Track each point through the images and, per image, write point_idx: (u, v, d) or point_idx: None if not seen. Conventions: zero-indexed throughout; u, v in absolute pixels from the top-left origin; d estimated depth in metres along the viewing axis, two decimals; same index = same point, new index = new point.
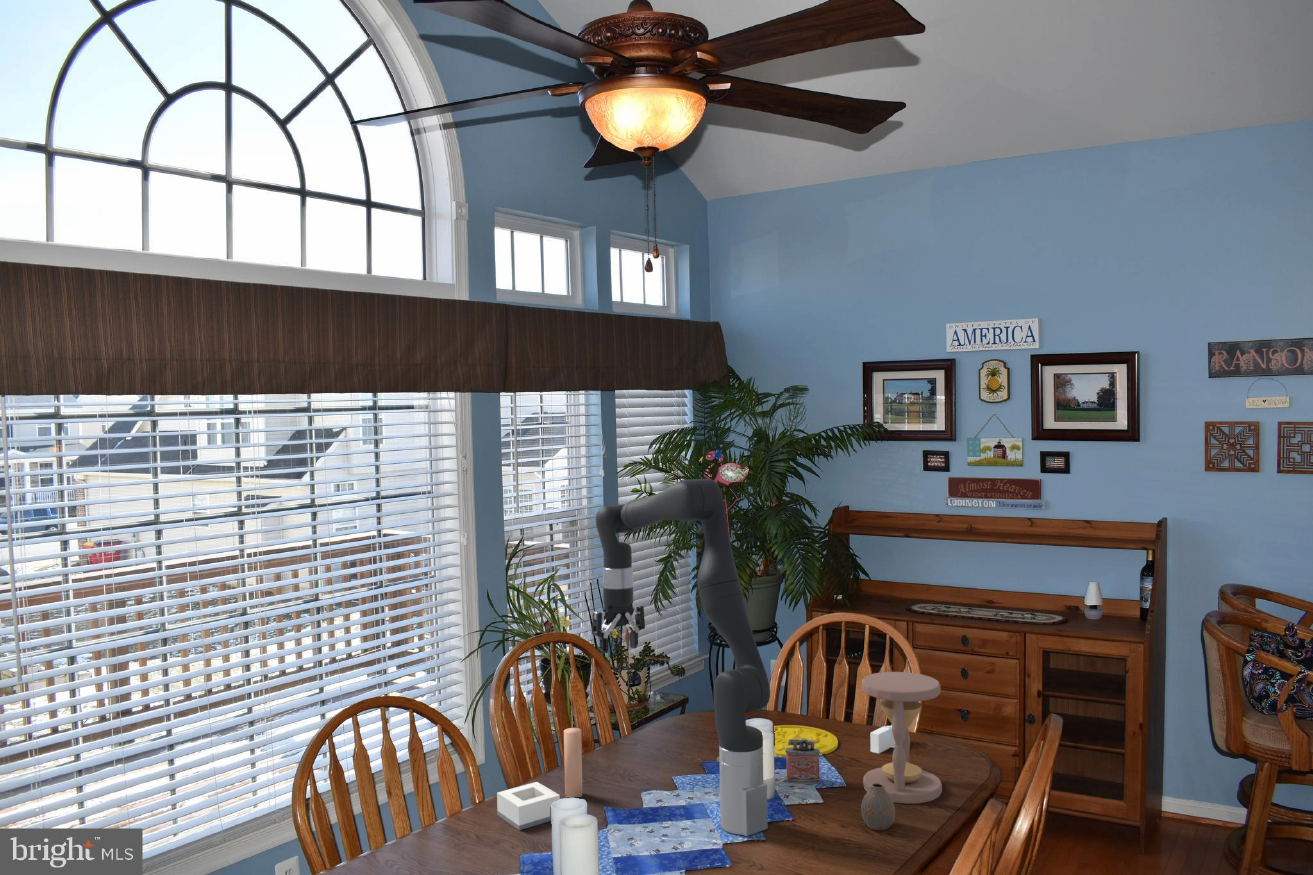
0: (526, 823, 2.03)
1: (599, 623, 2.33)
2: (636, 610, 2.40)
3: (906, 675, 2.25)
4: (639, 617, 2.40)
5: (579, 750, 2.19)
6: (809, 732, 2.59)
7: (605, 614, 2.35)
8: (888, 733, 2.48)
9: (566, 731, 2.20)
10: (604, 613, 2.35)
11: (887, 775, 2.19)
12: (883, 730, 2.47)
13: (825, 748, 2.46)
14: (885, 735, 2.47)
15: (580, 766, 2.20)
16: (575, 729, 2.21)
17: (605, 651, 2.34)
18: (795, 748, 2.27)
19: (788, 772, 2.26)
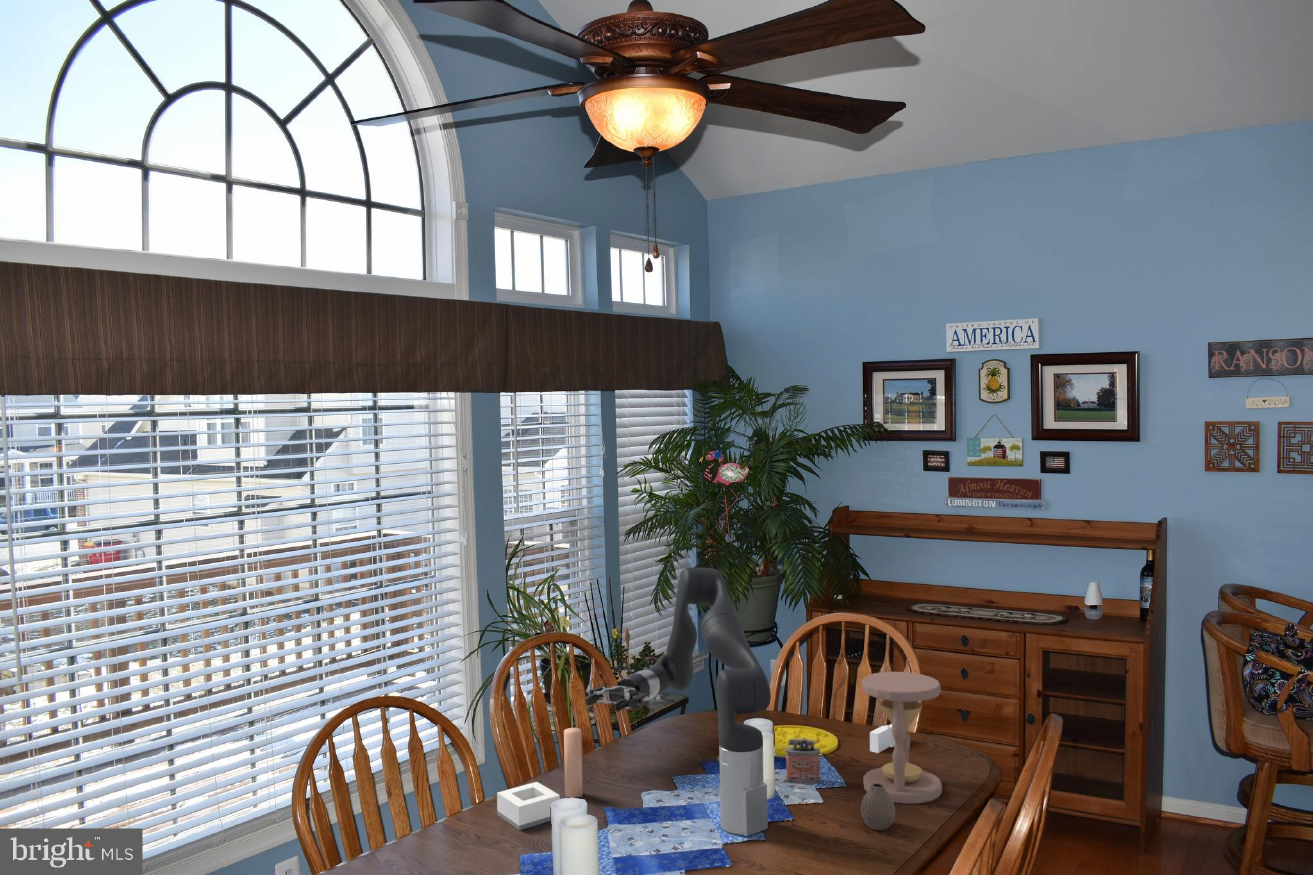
0: (526, 823, 2.03)
1: (598, 687, 2.40)
2: None
3: (906, 675, 2.25)
4: None
5: (579, 750, 2.19)
6: (809, 732, 2.59)
7: None
8: (886, 733, 2.48)
9: (566, 731, 2.20)
10: None
11: (887, 775, 2.19)
12: (882, 730, 2.48)
13: (825, 748, 2.46)
14: (885, 734, 2.48)
15: (580, 766, 2.20)
16: (575, 729, 2.21)
17: None
18: (795, 748, 2.27)
19: (788, 772, 2.26)
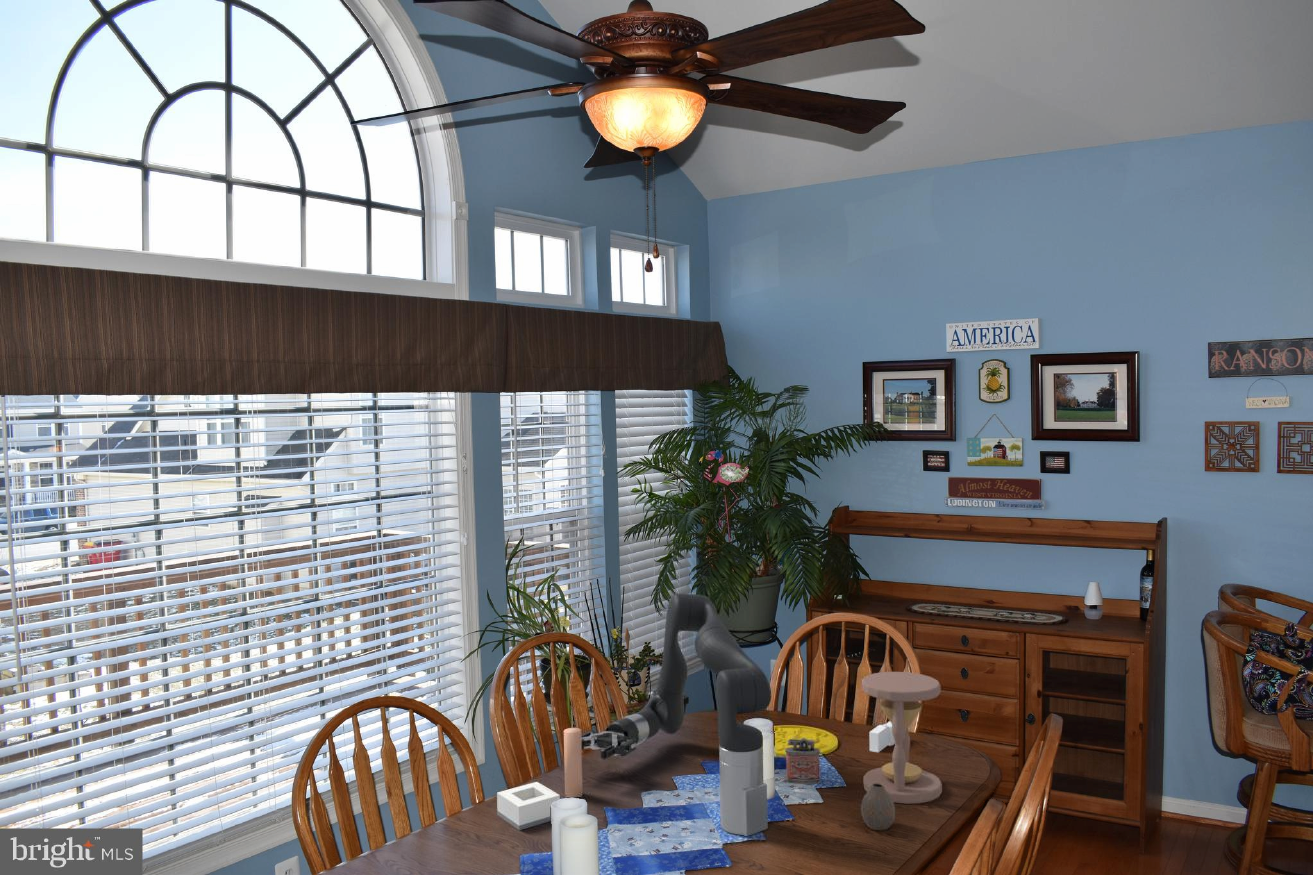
0: (526, 823, 2.03)
1: (586, 733, 2.35)
2: None
3: (906, 675, 2.25)
4: None
5: (579, 750, 2.19)
6: (809, 732, 2.59)
7: None
8: (885, 732, 2.49)
9: (566, 731, 2.20)
10: None
11: (887, 775, 2.19)
12: (880, 729, 2.48)
13: (825, 748, 2.46)
14: (883, 734, 2.48)
15: (580, 766, 2.20)
16: (575, 729, 2.21)
17: None
18: (795, 748, 2.27)
19: (788, 772, 2.26)
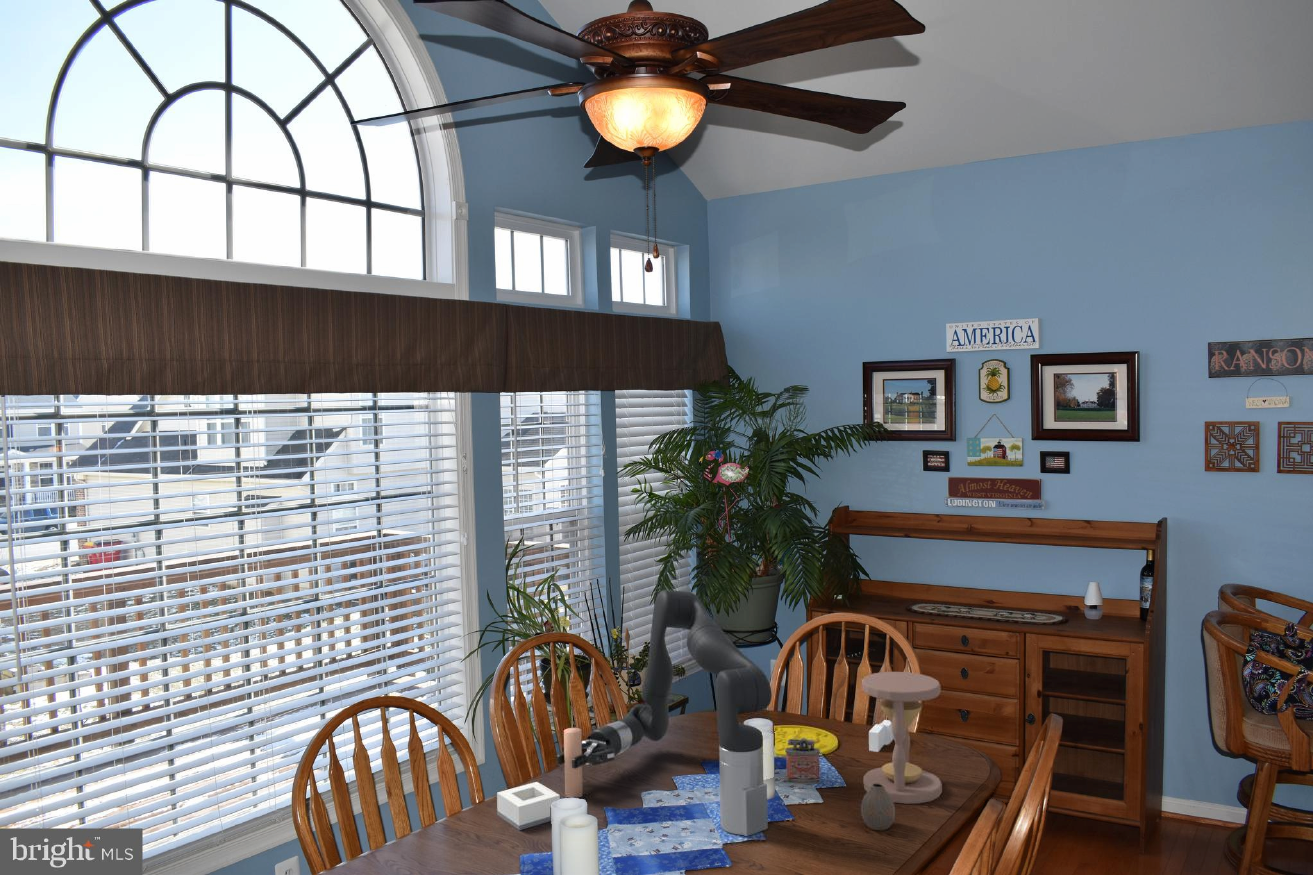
0: (526, 823, 2.03)
1: None
2: None
3: (906, 675, 2.25)
4: None
5: (579, 750, 2.19)
6: (809, 732, 2.59)
7: None
8: (882, 731, 2.50)
9: (566, 731, 2.20)
10: None
11: (887, 775, 2.19)
12: (878, 728, 2.49)
13: (825, 748, 2.46)
14: (881, 733, 2.49)
15: (580, 766, 2.20)
16: (575, 729, 2.21)
17: None
18: (795, 748, 2.27)
19: (788, 772, 2.26)
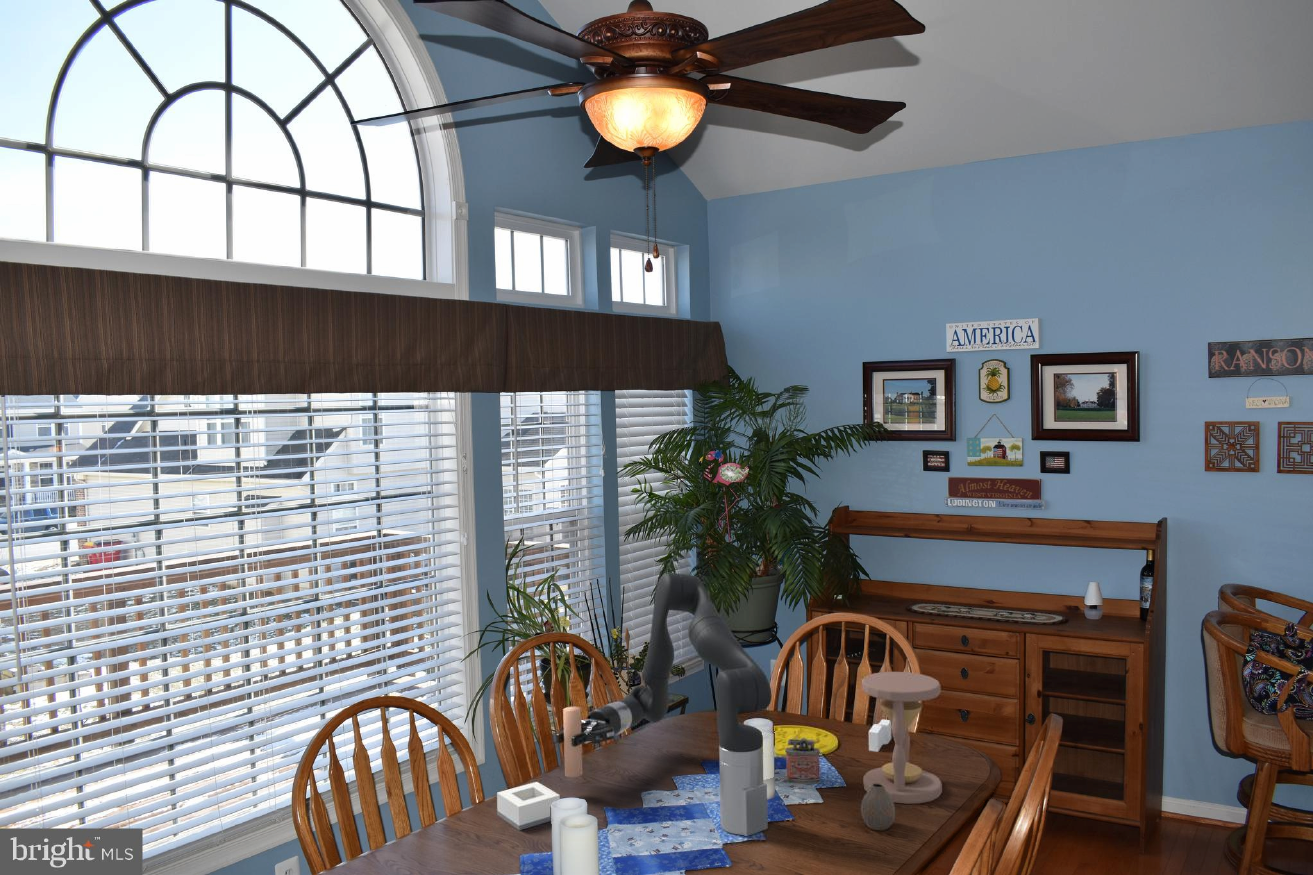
0: (526, 823, 2.03)
1: None
2: None
3: (906, 675, 2.25)
4: None
5: (579, 728, 2.19)
6: (809, 732, 2.59)
7: None
8: (881, 731, 2.50)
9: (565, 710, 2.20)
10: None
11: (887, 775, 2.19)
12: (877, 728, 2.49)
13: (825, 748, 2.46)
14: (880, 732, 2.49)
15: (580, 745, 2.19)
16: (574, 708, 2.21)
17: None
18: (795, 748, 2.27)
19: (788, 772, 2.26)
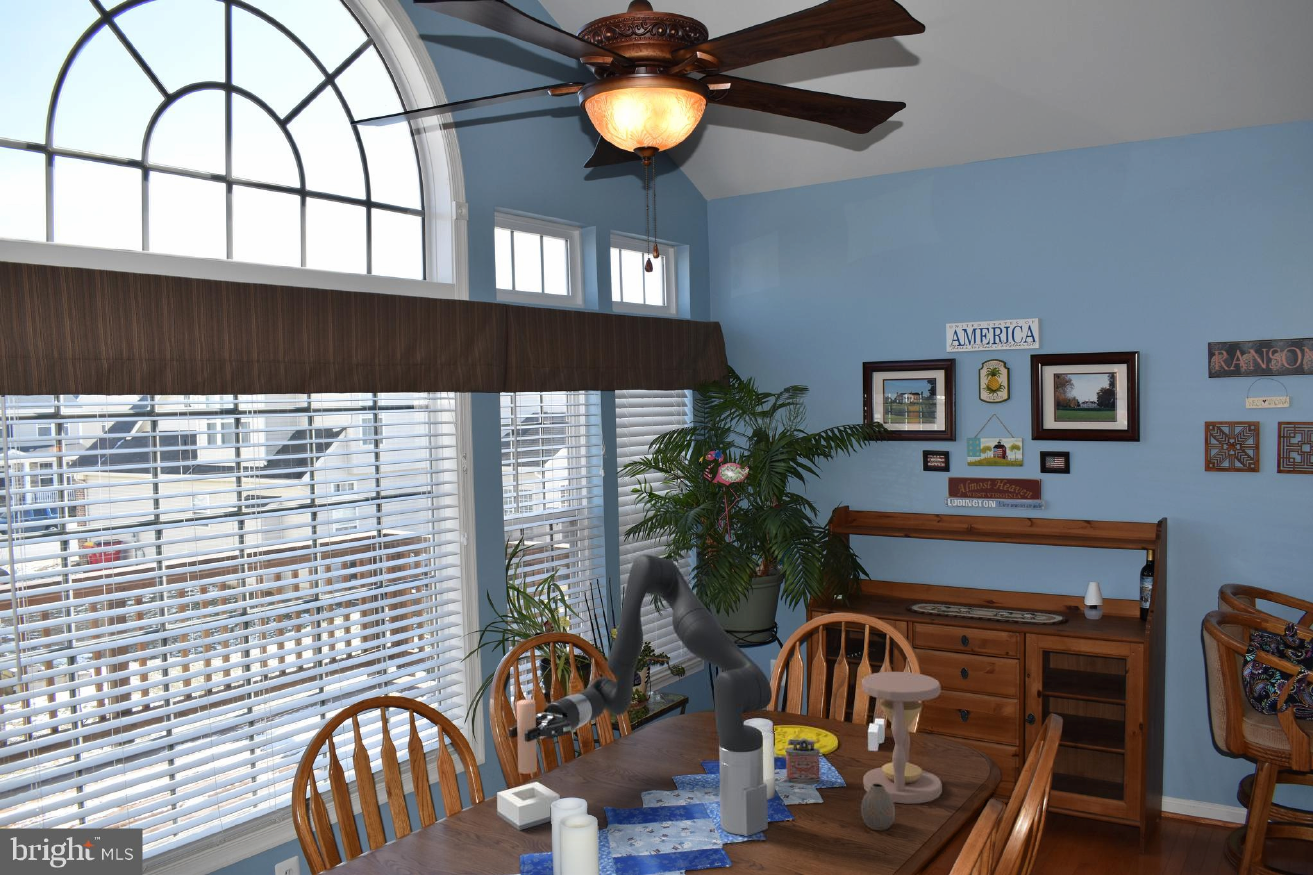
0: (526, 823, 2.03)
1: None
2: None
3: (906, 675, 2.25)
4: None
5: (533, 723, 2.08)
6: (809, 732, 2.59)
7: None
8: (878, 730, 2.51)
9: (519, 703, 2.08)
10: None
11: (887, 775, 2.19)
12: (875, 727, 2.50)
13: (825, 748, 2.46)
14: (878, 732, 2.50)
15: (534, 739, 2.08)
16: (529, 701, 2.10)
17: None
18: (795, 748, 2.27)
19: (788, 772, 2.26)
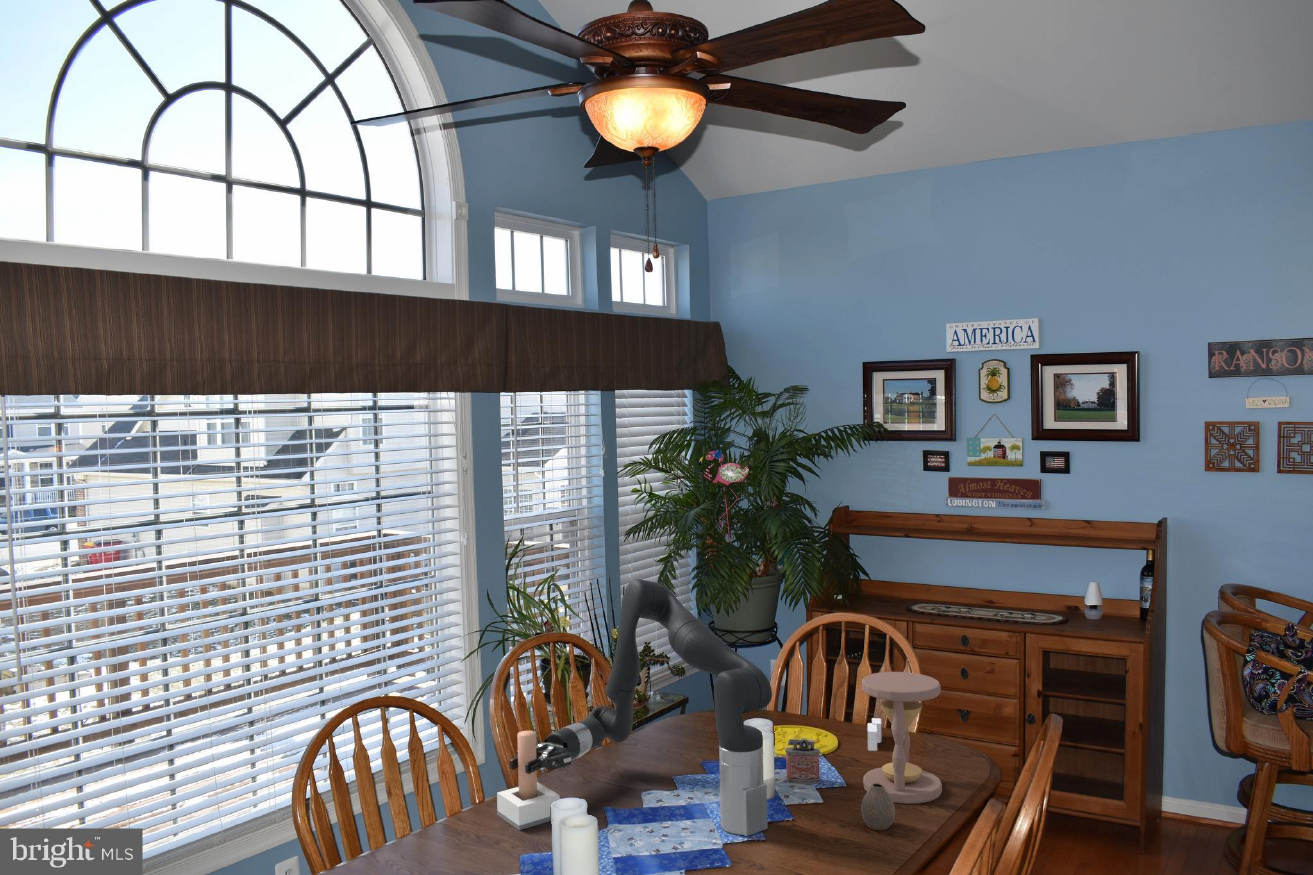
0: (526, 823, 2.03)
1: None
2: None
3: (906, 675, 2.25)
4: None
5: (533, 754, 2.08)
6: (809, 732, 2.59)
7: None
8: None
9: (520, 734, 2.08)
10: None
11: (887, 775, 2.19)
12: (874, 727, 2.50)
13: (825, 748, 2.46)
14: None
15: (534, 771, 2.08)
16: (529, 732, 2.10)
17: None
18: (795, 748, 2.27)
19: (788, 772, 2.26)
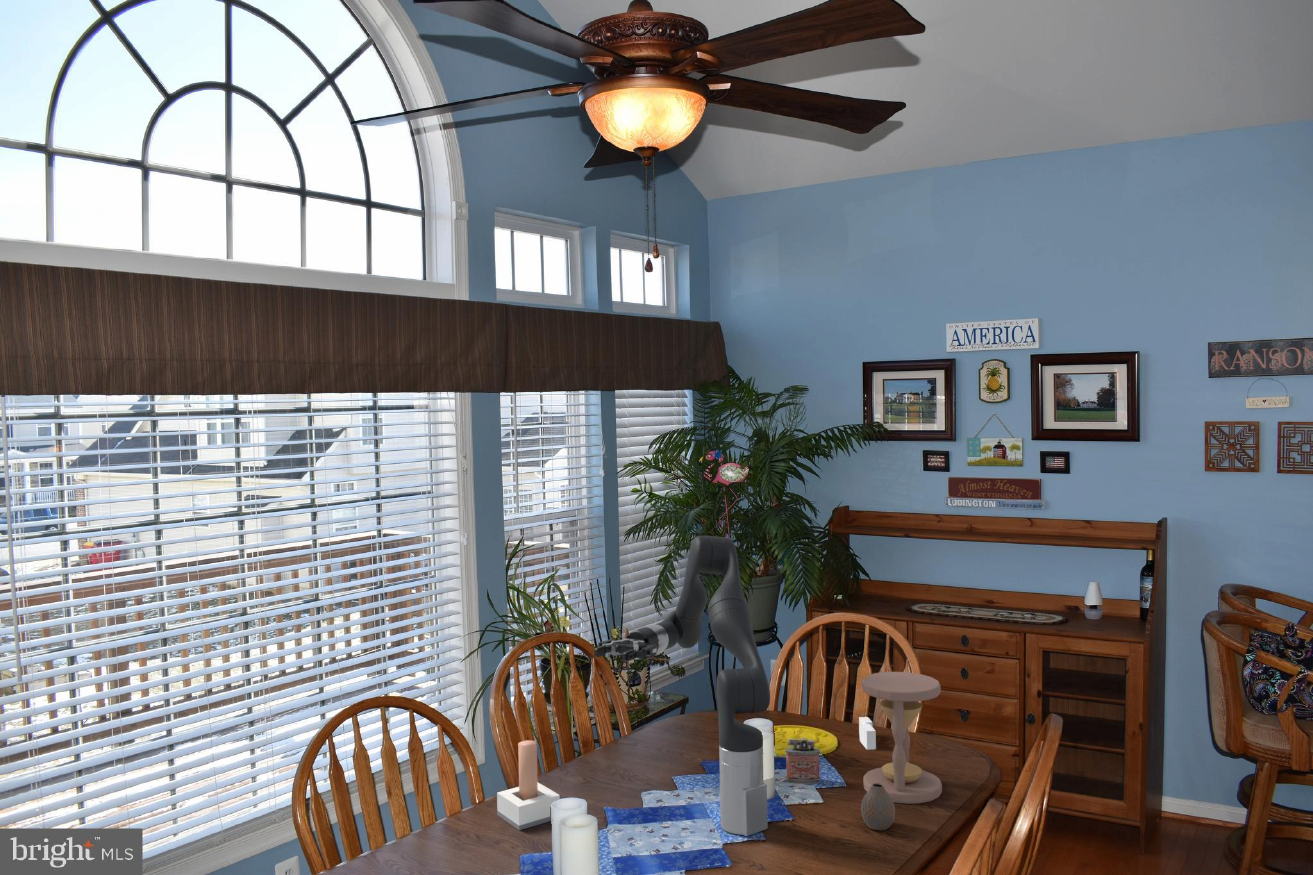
0: (526, 823, 2.03)
1: (607, 640, 2.39)
2: None
3: (906, 675, 2.25)
4: None
5: (534, 764, 2.08)
6: (809, 732, 2.59)
7: None
8: None
9: (521, 744, 2.09)
10: None
11: (887, 775, 2.19)
12: (869, 726, 2.51)
13: (825, 748, 2.46)
14: None
15: (535, 781, 2.08)
16: (530, 742, 2.10)
17: None
18: (795, 748, 2.27)
19: (788, 772, 2.26)
